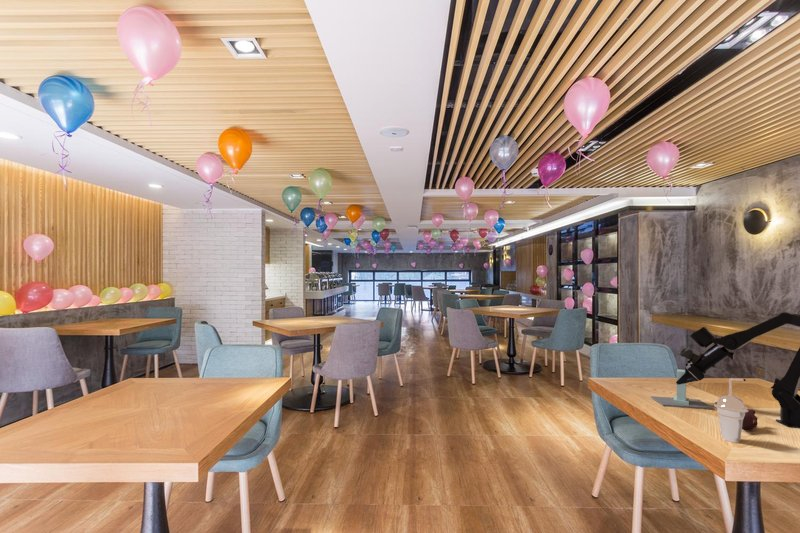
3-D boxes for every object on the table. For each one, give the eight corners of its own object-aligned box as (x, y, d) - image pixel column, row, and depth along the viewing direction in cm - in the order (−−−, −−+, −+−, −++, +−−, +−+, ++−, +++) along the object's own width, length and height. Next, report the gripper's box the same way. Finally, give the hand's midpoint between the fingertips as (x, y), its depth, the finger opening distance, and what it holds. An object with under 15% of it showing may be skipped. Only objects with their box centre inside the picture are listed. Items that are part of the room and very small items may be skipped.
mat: (714, 409, 163) (714, 408, 163) (663, 405, 166) (663, 404, 166) (698, 400, 175) (698, 399, 175) (651, 397, 178) (651, 396, 178)
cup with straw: (743, 437, 134) (743, 373, 134) (753, 447, 125) (753, 379, 126) (710, 433, 137) (710, 370, 138) (718, 442, 129) (718, 376, 130)
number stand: (689, 401, 172) (689, 370, 172) (688, 405, 166) (688, 373, 167) (674, 398, 175) (674, 368, 175) (673, 402, 169) (673, 371, 169)
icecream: (753, 417, 134) (768, 413, 143) (726, 405, 140) (742, 402, 149) (746, 437, 135) (761, 432, 144) (719, 424, 141) (735, 420, 150)
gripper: (693, 338, 177) (662, 362, 183) (693, 343, 161) (659, 369, 167) (717, 360, 172) (684, 383, 178) (719, 367, 157) (683, 392, 163)
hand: (677, 381), depth 171 cm, fingers open, 9 cm apart
